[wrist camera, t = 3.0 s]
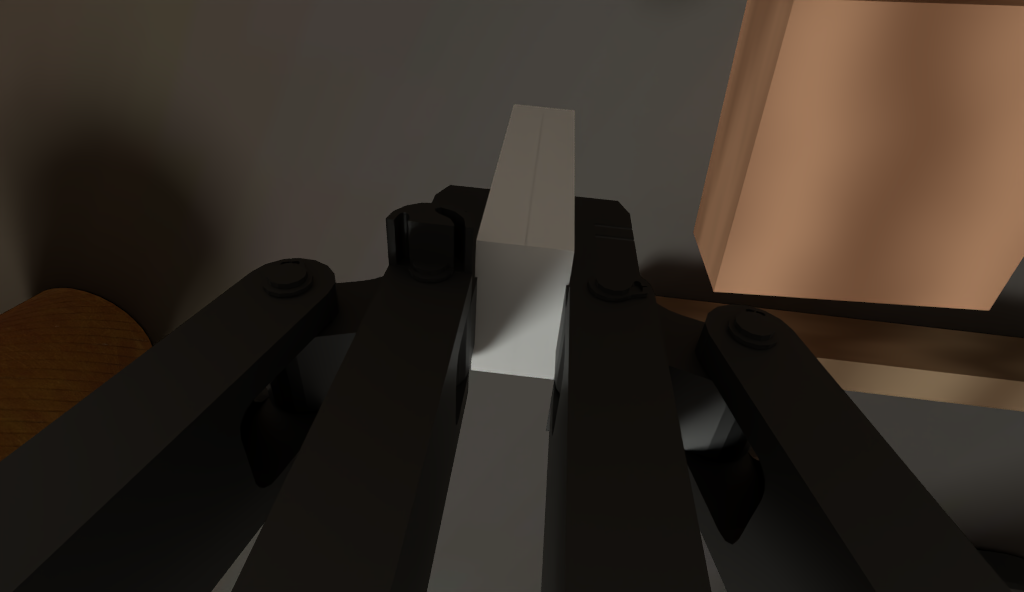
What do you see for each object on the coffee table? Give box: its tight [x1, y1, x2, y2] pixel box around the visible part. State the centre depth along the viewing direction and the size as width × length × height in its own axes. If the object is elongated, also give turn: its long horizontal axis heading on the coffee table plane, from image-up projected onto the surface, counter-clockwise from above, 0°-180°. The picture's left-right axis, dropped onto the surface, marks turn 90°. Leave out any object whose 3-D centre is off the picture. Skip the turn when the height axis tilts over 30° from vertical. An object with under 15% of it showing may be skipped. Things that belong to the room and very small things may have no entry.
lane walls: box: [655, 296, 1024, 411], centre depth 19 cm, size 18×19×3 cm
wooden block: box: [693, 0, 1024, 311], centre depth 18 cm, size 9×9×4 cm
